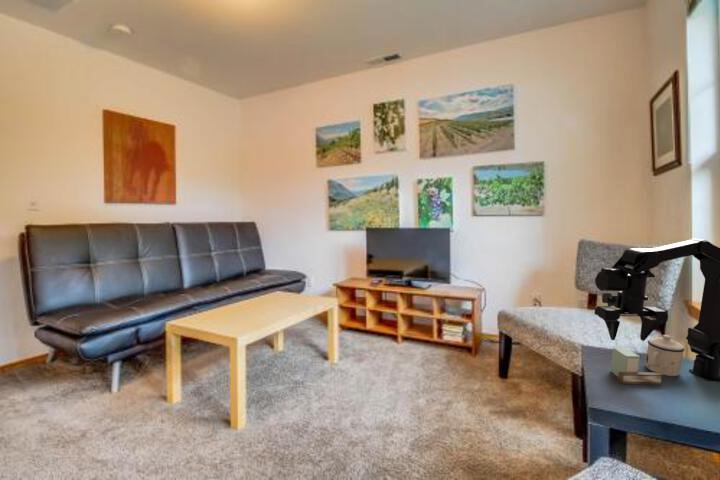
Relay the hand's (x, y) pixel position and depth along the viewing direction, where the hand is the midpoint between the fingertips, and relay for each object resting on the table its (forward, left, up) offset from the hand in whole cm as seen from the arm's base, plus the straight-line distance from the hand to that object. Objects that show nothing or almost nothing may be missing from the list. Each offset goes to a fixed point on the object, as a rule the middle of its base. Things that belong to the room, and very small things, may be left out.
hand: (627, 340), depth 113 cm
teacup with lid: (-15, -4, -12) cm, 19 cm away
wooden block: (-2, +4, -12) cm, 13 cm away
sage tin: (0, 0, -12) cm, 12 cm away
